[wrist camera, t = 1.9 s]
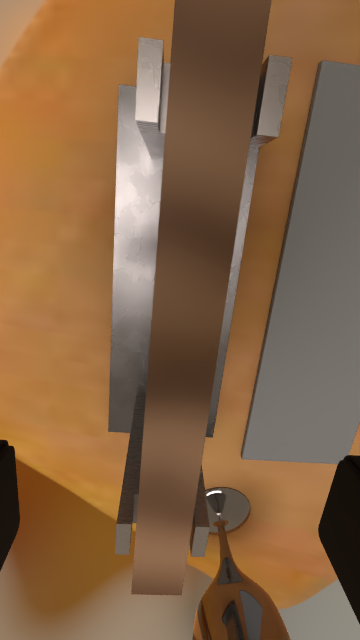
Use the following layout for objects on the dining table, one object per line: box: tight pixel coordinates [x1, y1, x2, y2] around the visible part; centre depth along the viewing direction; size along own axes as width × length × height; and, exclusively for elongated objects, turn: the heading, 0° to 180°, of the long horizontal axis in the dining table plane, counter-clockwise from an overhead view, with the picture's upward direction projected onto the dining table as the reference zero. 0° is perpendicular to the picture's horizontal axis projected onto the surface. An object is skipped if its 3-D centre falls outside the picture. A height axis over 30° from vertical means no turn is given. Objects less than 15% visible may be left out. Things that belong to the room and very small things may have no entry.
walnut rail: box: [132, 0, 271, 595], centre depth 16 cm, size 30×3×2 cm, turn 174°
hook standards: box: [108, 37, 292, 557], centre depth 22 cm, size 28×10×14 cm, turn 174°
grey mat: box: [241, 61, 360, 464], centre depth 29 cm, size 34×11×1 cm, turn 174°
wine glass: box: [193, 487, 291, 640], centre depth 31 cm, size 8×8×15 cm
